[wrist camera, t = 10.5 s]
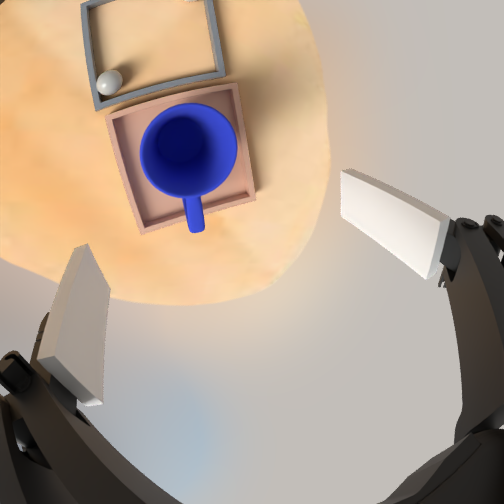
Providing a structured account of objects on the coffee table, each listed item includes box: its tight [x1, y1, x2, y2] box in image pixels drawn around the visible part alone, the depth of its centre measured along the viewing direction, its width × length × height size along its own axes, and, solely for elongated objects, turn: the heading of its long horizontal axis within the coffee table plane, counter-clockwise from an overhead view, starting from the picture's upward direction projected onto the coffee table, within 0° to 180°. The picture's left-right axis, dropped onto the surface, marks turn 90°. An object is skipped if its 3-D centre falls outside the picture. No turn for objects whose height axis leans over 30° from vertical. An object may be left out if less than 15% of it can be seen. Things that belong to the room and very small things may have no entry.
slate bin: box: [81, 0, 226, 111], centre depth 21 cm, size 15×15×1 cm
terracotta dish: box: [105, 82, 256, 235], centre depth 29 cm, size 15×15×2 cm
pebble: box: [96, 70, 123, 95], centre depth 22 cm, size 3×3×3 cm
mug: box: [140, 103, 238, 233], centre depth 26 cm, size 8×12×10 cm
